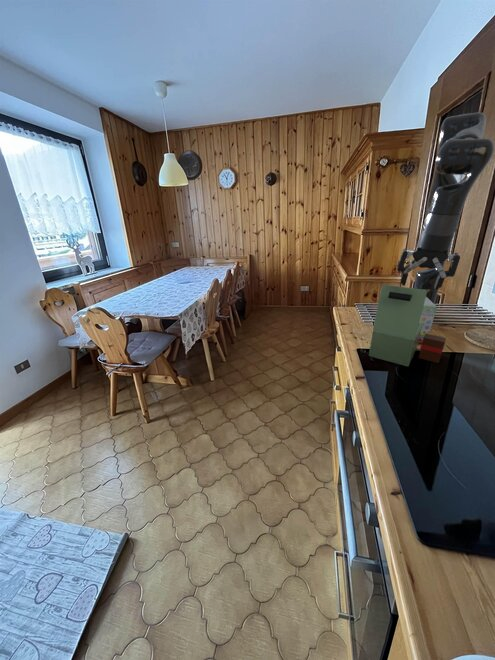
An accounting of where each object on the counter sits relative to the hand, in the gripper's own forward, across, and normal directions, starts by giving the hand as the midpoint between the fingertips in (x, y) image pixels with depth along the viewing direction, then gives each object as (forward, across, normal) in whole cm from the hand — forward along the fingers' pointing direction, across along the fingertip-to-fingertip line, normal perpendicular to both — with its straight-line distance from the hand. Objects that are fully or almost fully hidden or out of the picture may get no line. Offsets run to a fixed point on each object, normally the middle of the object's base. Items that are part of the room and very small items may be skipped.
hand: (419, 286), depth 83 cm
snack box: (+30, -7, -23) cm, 38 cm away
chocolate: (+27, -10, -2) cm, 29 cm away
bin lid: (+9, +3, 0) cm, 10 cm away
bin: (+28, +1, -3) cm, 28 cm away
